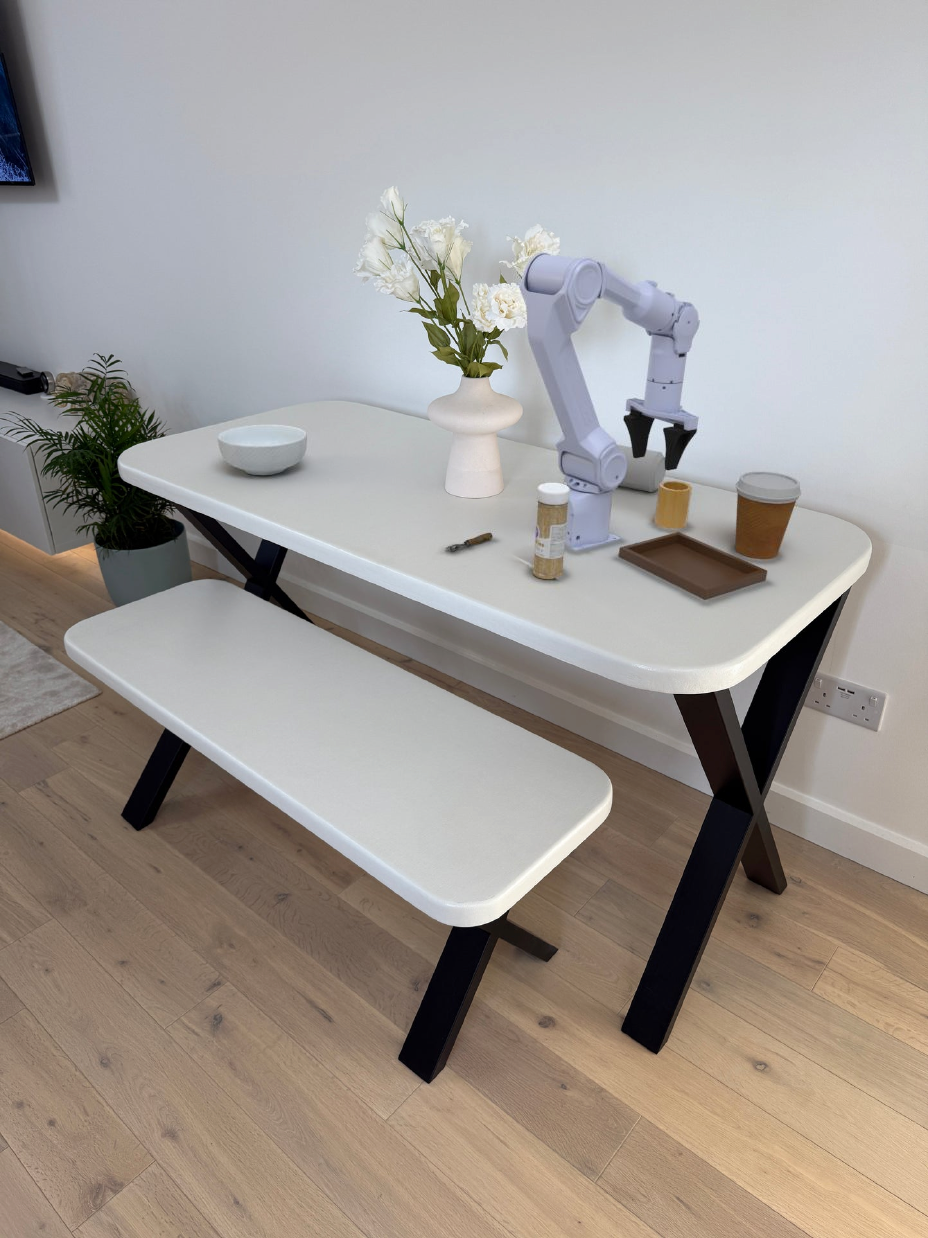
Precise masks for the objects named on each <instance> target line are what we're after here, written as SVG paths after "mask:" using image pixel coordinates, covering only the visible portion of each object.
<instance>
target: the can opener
mask: <svg viewBox="0 0 928 1238" xmlns="http://www.w3.org/2000/svg"><path fill="white" fill-rule="evenodd" d="M491 539H493V533H491V532H486V533H483V534H480V535H479V534H478V535H477V536H475V537H472V538H469V539H466V540H464V541H463V543H455V544H451V545H448V546H447V547H446V548H445V550H447V549H449V551H450V552H455V551H456V550H457V549H459V548H466V547H471V546H473V545H477V544H480V543H483V542H487V541H489V540H491ZM453 547H454V548H453Z"/></svg>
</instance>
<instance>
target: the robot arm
mask: <svg viewBox="0 0 928 1238" xmlns="http://www.w3.org/2000/svg"><path fill="white" fill-rule="evenodd" d="M518 288H519V291H520V294H521V296H522V299H523V303H524V305H525V309H526V328H527V329H526V333H527V340H528V343H529V347H530V348H531V351H532V354H533V357H534V360H535V362H536V365H537V367H538V370H539V372H540V375H541V378H542V381H543V384H544V386H545V389H546V391H547V395H548V397H549V400H550V403H551V405H552V408H553V410H554V413H555V416H556V418H557V422H558V424H559V426H560V429H561V432H562V435H560V437H559V438H558V440H557V441H556V443H555V447H556V449H557V455H558V459H557V463H558V464H557V465H558V469H559V471H560V473H561V474H562V475H563V476H564V479H563V481H564V483H566V484H565V485H566V486H568V487H569V488H570V498H569V501H568V509H567V526H566V539H565V547H568V548H569V549H571V550H573V551H580V550H584V549H588V548H591V547H596V546H600V545H603V544H604V545H605V544H608V543H611V542H615V541H618V540H621V537H619V536H618V535H616V534H613V533H611V532H610V525H611V514H612V505H613V497H614V490H617V489H618V487H619V486H618V485H619V484H620V483H621V482H622V480H623V479H624V477H625V474H626V471H627V459H626V456H625V454H624V453H623V452H622V451H621V450H620V449H619V448H618V447H617V445H618V444H617V441H616V440H615V438H613V437H612V436H611V435H610V434H609V433H608V432H607V431H606V430H605V429H604V428H602V426H601V425H600V421H599V419H598V416H597V413H596V409H595V406H594V404H593V401H592V398H591V395H590V391H589V388H588V386H587V382H586V380H585V377H584V373H583V370H582V368H581V364H580V361H579V359H578V355H577V353H576V350H575V347H574V343H573V341H572V334H574V333H575V332H577V331H579V329H580V327H581V326H582V324H583V322H584V321H585V319H586V318H587V317H588V314H589V313H590V311H591V309H592V307H593V306H594V304H595V303H596V301H597V300H601V299H603V300H606V301H608V302H610V303H613V304H615V305H616V306H619V307H620V310H621V314H622V316H623V318H625V319H626V320H627V321H629V322H631V323H633V324H635V325H637V326H638V327H641V328H643V329H645V332H646V334H647V336H649V337H651V339H650V346H649V355H648V365H647V372H646V381H645V391H644V399H640V398H638V397H637V398H636V397H633V398H626V400H625V401H626V402H625V411H626V412H629V413H628V414H625V415H623V422H624V424H625V426H626V429H627V431H628V435H629V439H630V445H631V447H632V452H633V458H640V457H645V454H646V450H648V443H649V437H650V433H651V430H652V427H653V424H654V422H655V420H659V421H662V422H664V423H668V424H671V425H672V426H667V427H663V428H662V432H663V437H664V443H665V454H664V457H665V470H666V471H673V470H677V469H678V466H679V464H680V461H681V459H682V457H683V455H684V452H685V450H686V448H687V446H688V445H689V443H690V442H691V440H692V439H693V438H694V436H696V434H698V433H697V432H698V425H699V418H700V416H698V415H695V414H692V413H690V412H688V411H686V410H685V409H683V405H681V401H682V393H683V385H684V379H685V371H686V364H687V356H688V353H689V352H690V351H691V349H692V343H693V339H694V337H695V335H696V334H697V333H698V330H699V327H700V323H701V320H700V319H699V312H698V310H697V308H696V307H695V305H694V304H693V303H692V302H688V301H682V300H677V298H675V297H676V295H675V293H673V292H671V291H663V290H661V289H660V288H658V282H657V281H655V280H652V279H645V280H644V281H637V282H634V283H632V282H630V281H629V280H627V279H626V278H624V277H623V276H621V275H620V274H619V273H617V272H616V271H614V270H613V269H611V268H609V267H608V266H606V264H605V262H602V261H597V260H595V259H594V258H592V257H589V256H586V257H585V256H584V257H576V256H565V255H557V254H550V253H548V252H538V253H536V254H534V255H533V256H532V257H531V258H530V259H529V260H528V261H527V264H526V265H525V268H524V271H523V274H522V277H521V280H520V283H519V285H518Z"/></svg>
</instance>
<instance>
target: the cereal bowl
mask: <svg viewBox="0 0 928 1238" xmlns="http://www.w3.org/2000/svg"><path fill="white" fill-rule="evenodd" d="M217 443H218V449H219V453H220V454H221V456H222V458H223V460H225V461H226V462H227V463H228V464H229V465H230V466H232V467H235V468H237V469H240V470H243V471H244V472H245V473H246V474H250V475H253V476H271V475H272V476H273V475H278V474H281V473H283V472H284V471H286V469H288V468H291V467H293V466H295V465H296V464H298V463H299V462H300V461H301V460H302V459H303V458H304V456H305V455H306V453H307V452H306V451H307V447H308V435H307V432H306V431H305V430H304V429H301V428H299V427H296V426H291V425H285V424H252V425H245V426H244V425H243V426H242V425H241V426H236V427H232V428H229V429H226V430H224V431H223V430H222V431H221V432H220V433H219V434H218V435H217Z"/></svg>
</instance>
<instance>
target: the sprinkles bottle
mask: <svg viewBox="0 0 928 1238" xmlns="http://www.w3.org/2000/svg"><path fill="white" fill-rule="evenodd" d="M566 485H567V484H564V483H560V482H544V483H541V484H539V485H538V486H537V490H536V499H537V511H536V513H537V514H536V516H537V517H536V524H535V538H534V549H533V550H534V557H533V567H532V574H533V575H534V576H535V577H536V578H539V579H541V580H555V579H556V578H559V577H561V576H562V575H563V574H564V570H563V568H564V567H563V565H564V556H565V549H566V546H565V539H566V526H567V509H568V501H569V498H570V488H569V487H568V486H566Z"/></svg>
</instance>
